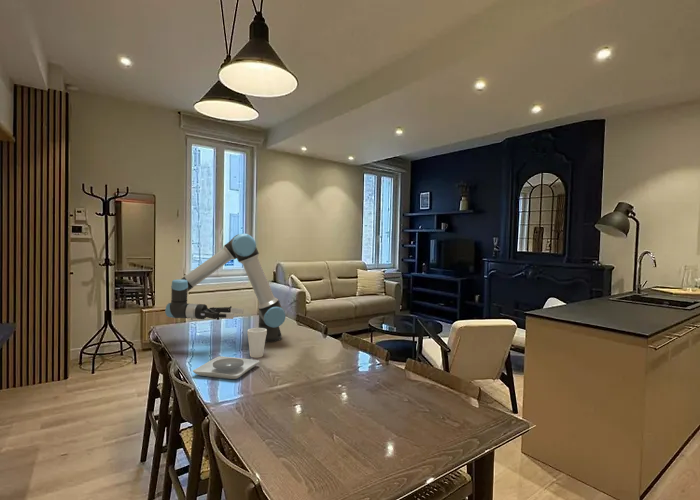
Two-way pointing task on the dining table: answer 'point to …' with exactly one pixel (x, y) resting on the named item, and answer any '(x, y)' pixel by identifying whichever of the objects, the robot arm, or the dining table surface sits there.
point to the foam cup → (256, 341)
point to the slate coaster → (228, 363)
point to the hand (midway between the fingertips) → (238, 313)
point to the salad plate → (225, 373)
